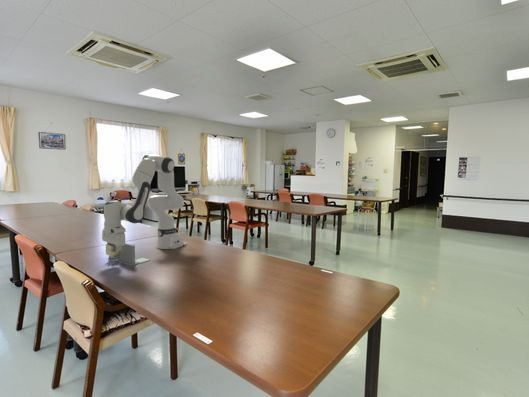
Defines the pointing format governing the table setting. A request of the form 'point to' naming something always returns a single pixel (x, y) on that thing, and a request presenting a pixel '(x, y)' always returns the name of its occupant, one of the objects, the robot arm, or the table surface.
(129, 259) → the screen
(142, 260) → the coaster
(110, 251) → the letter cube
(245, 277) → the table surface
